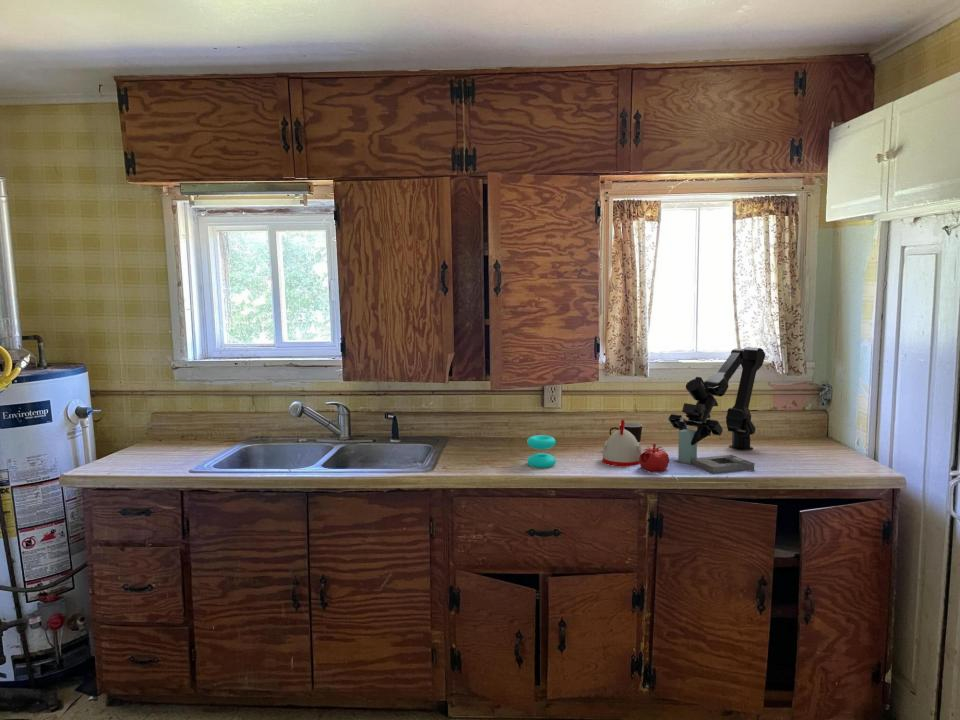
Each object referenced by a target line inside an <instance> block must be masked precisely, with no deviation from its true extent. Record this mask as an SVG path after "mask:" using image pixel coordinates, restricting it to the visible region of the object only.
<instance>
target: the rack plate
mask: <svg viewBox="0 0 960 720" xmlns="http://www.w3.org/2000/svg"><path fill="white" fill-rule="evenodd" d="M691 466H694V467H696V468H699V469H701V470H703V471H706V472H708V473H710V474H713V475H715V474H723V473H733V472H744V471H748V470H754V471H755V462H753V461H749V460H746V459H745V458H741V457H739V456H737V455H733V454H727V455H714V456H705V457H697V458H692V465H691Z"/></svg>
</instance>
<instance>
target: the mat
mask: <svg viewBox="0 0 960 720" xmlns="http://www.w3.org/2000/svg"><path fill="white" fill-rule="evenodd" d="M673 462H675V463H678V464H679V463H680V464H685V465H689V466H693V465H692V463H690V464H689V463H684V462H679V461H678V459H676V460H673Z"/></svg>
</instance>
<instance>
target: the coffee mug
mask: <svg viewBox="0 0 960 720" xmlns="http://www.w3.org/2000/svg"><path fill="white" fill-rule="evenodd" d="M619 429H621V423H619V426H618V427H611V428H610V429H609V435H610V436H611V435H612V434H613V433H612V430H616V431H617V430H619ZM625 430H627V431H629V432H630V433H631V434H632V435H633V436H634V437H635V438H636V440H637V442H638V443H639V442H640V443H641V441H642V440H641V439H642V434H643V433H642V431H643V424H641V423H638V422H625Z"/></svg>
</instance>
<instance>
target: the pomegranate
mask: <svg viewBox="0 0 960 720" xmlns="http://www.w3.org/2000/svg"><path fill="white" fill-rule="evenodd" d="M656 446H657V443H653V444H652V448H651V447H650V446H647V448H645V449H644V450H643V451H642V454H641V455H640V456H639V461H640V464H639V465H640V467H641V468H642V470H644V471H645V472H650V473H655V472H659V473H661V472H662V473H663V472H665V470H666V469H667V468H668V467H669V463H670V458H669V457H670V456H669V454H668V453H667V452H666V451H667V450H665V449H664V448H663V447H662V446H658V447H656ZM660 448H661V449H660Z"/></svg>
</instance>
